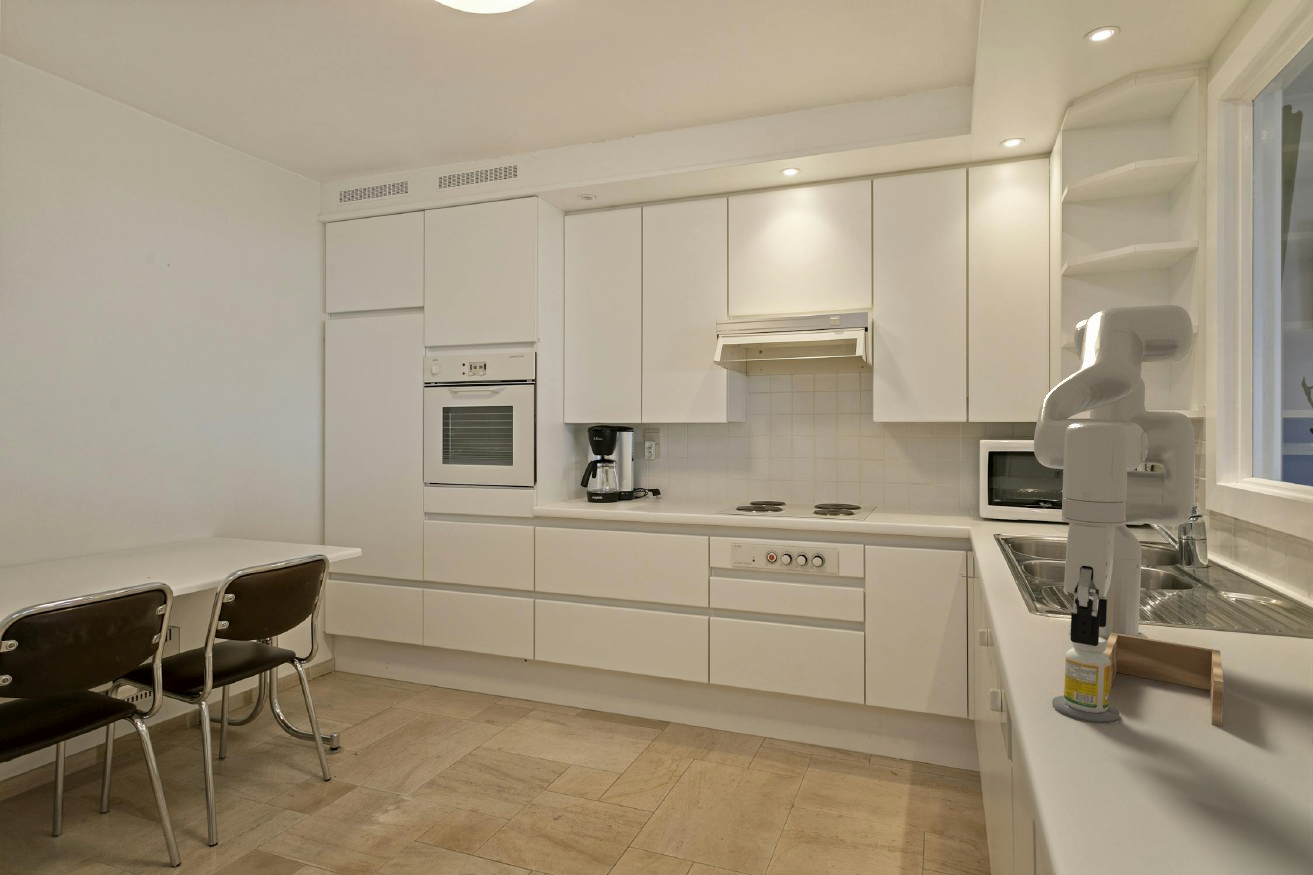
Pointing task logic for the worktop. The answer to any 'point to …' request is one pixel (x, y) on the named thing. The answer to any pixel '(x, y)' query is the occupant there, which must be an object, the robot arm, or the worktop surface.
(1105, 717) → the slate coaster
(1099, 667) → the supplement bottle
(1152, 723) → the worktop surface
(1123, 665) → the wooden u-frame
